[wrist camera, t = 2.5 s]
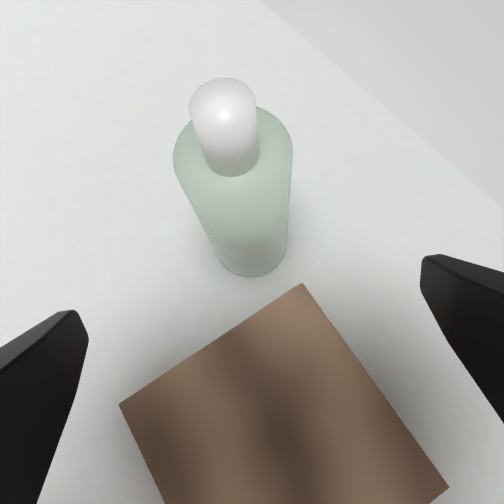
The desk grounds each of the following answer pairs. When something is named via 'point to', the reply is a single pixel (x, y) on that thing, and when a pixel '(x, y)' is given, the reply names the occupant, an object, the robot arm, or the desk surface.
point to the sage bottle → (237, 175)
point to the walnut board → (277, 420)
